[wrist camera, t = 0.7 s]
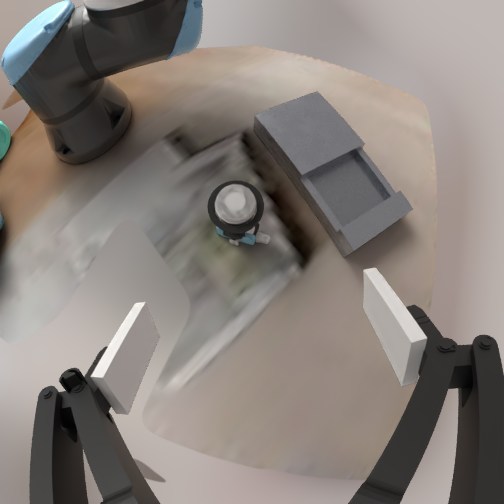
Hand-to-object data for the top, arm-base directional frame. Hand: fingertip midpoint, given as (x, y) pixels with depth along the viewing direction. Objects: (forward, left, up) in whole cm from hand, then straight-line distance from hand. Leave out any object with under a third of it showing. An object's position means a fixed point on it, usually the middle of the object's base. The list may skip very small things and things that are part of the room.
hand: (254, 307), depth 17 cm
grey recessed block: (-11, +19, -18) cm, 29 cm away
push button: (-9, +4, -18) cm, 21 cm away
